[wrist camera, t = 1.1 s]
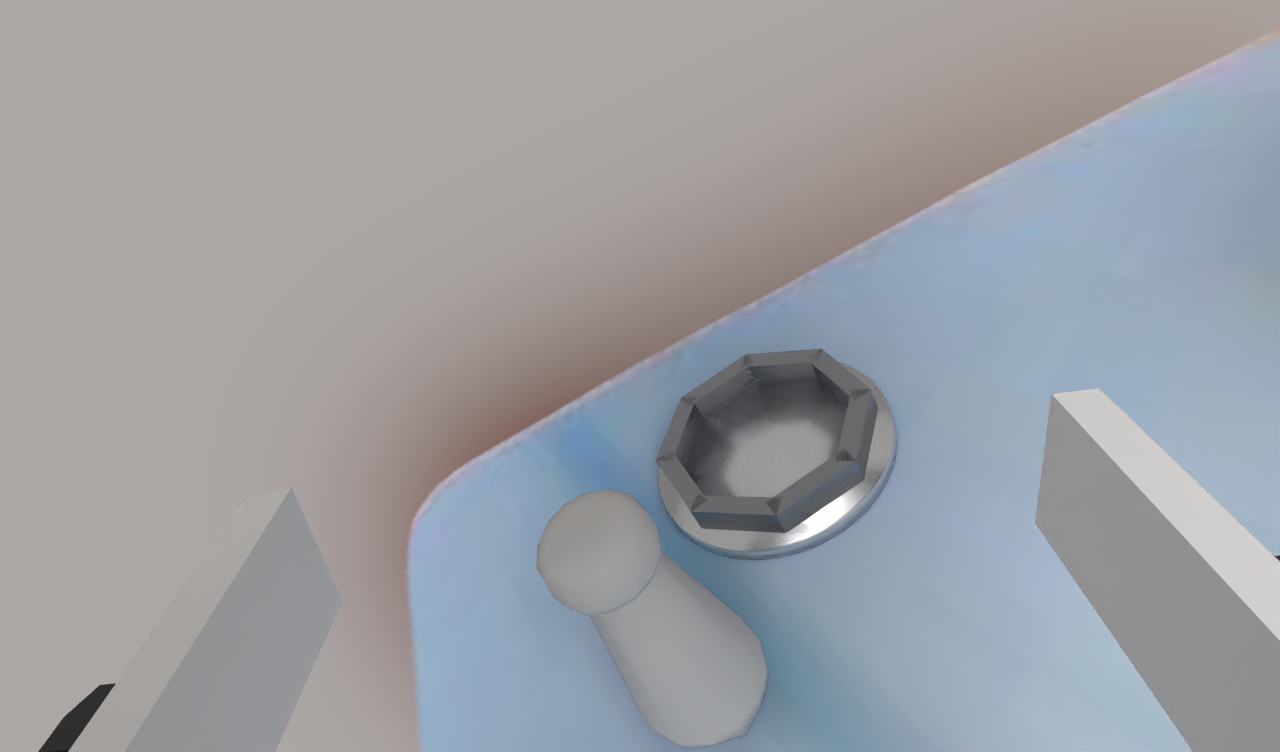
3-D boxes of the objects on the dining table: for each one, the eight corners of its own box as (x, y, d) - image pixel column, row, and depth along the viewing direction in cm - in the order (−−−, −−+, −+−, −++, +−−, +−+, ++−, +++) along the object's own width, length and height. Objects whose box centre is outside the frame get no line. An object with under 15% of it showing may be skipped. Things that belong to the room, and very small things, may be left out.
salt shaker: (796, 747, 31) (666, 574, 24) (666, 784, 33) (501, 630, 25) (767, 620, 36) (650, 440, 28) (654, 656, 37) (512, 493, 29)
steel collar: (808, 337, 48) (796, 307, 47) (953, 455, 38) (943, 421, 36) (632, 455, 48) (614, 429, 46) (730, 608, 37) (710, 580, 36)
